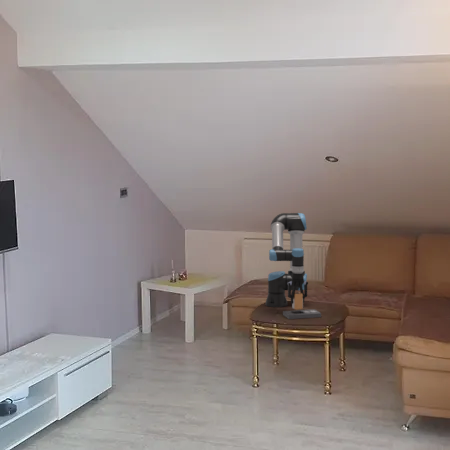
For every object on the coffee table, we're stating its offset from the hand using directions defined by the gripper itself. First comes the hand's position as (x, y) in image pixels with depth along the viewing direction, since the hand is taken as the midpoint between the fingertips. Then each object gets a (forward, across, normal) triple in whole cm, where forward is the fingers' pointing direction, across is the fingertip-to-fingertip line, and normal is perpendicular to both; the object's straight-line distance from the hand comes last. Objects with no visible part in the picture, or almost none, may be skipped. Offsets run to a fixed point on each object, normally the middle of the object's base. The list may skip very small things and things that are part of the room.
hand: (297, 308), depth 445 cm
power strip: (+5, +3, 0) cm, 6 cm away
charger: (0, 0, 0) cm, 0 cm away
